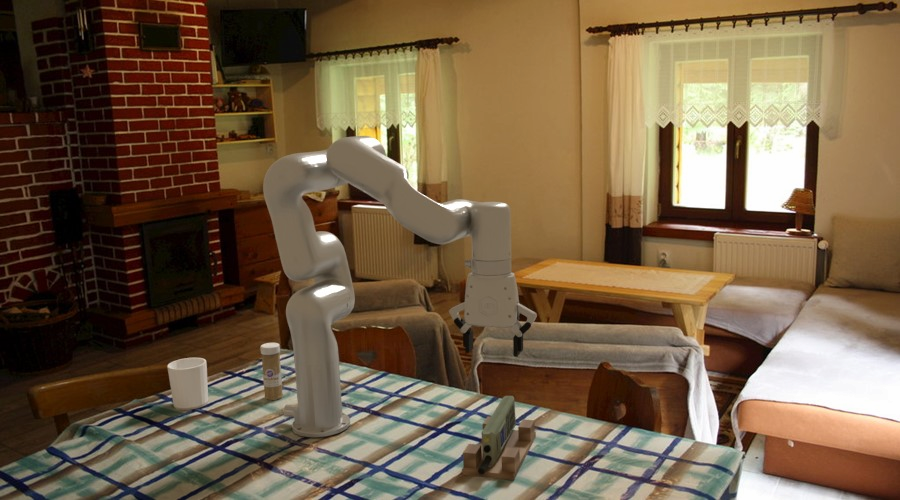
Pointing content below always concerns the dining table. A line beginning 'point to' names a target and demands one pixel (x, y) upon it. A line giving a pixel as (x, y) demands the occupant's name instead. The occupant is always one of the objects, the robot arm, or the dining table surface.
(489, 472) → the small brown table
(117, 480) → the dining table surface
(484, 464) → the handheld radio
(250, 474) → the dining table surface
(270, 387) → the sprinkles bottle
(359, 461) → the dining table surface
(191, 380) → the mug
